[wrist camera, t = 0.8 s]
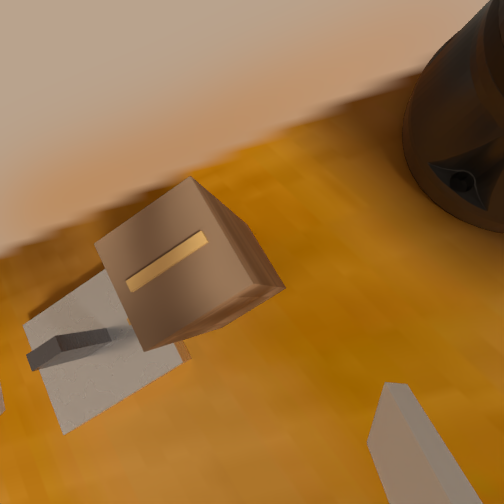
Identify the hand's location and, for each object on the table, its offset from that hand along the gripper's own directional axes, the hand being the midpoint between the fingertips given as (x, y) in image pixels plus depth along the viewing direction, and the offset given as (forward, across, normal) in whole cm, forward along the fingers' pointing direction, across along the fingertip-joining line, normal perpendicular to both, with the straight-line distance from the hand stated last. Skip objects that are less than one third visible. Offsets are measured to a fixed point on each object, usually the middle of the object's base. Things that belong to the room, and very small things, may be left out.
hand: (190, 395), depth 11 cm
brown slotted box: (+15, +1, -2) cm, 15 cm away
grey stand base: (+15, -10, -9) cm, 20 cm away
